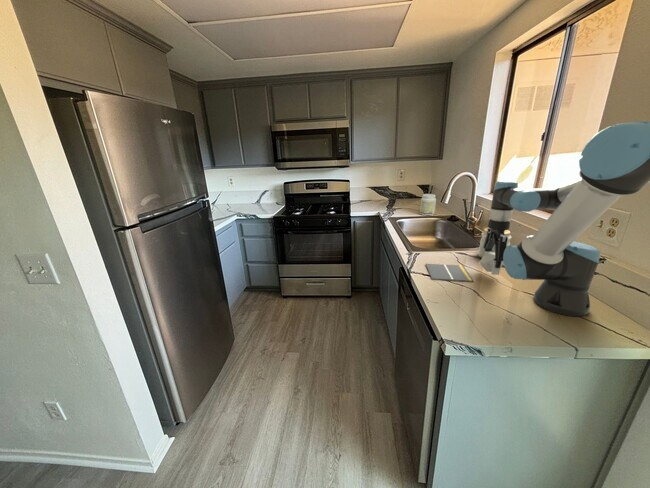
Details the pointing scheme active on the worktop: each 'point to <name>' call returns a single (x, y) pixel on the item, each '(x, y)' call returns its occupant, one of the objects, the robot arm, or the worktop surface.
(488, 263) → the die
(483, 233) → the jar
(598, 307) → the worktop surface
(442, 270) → the mat
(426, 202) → the supplement tub
